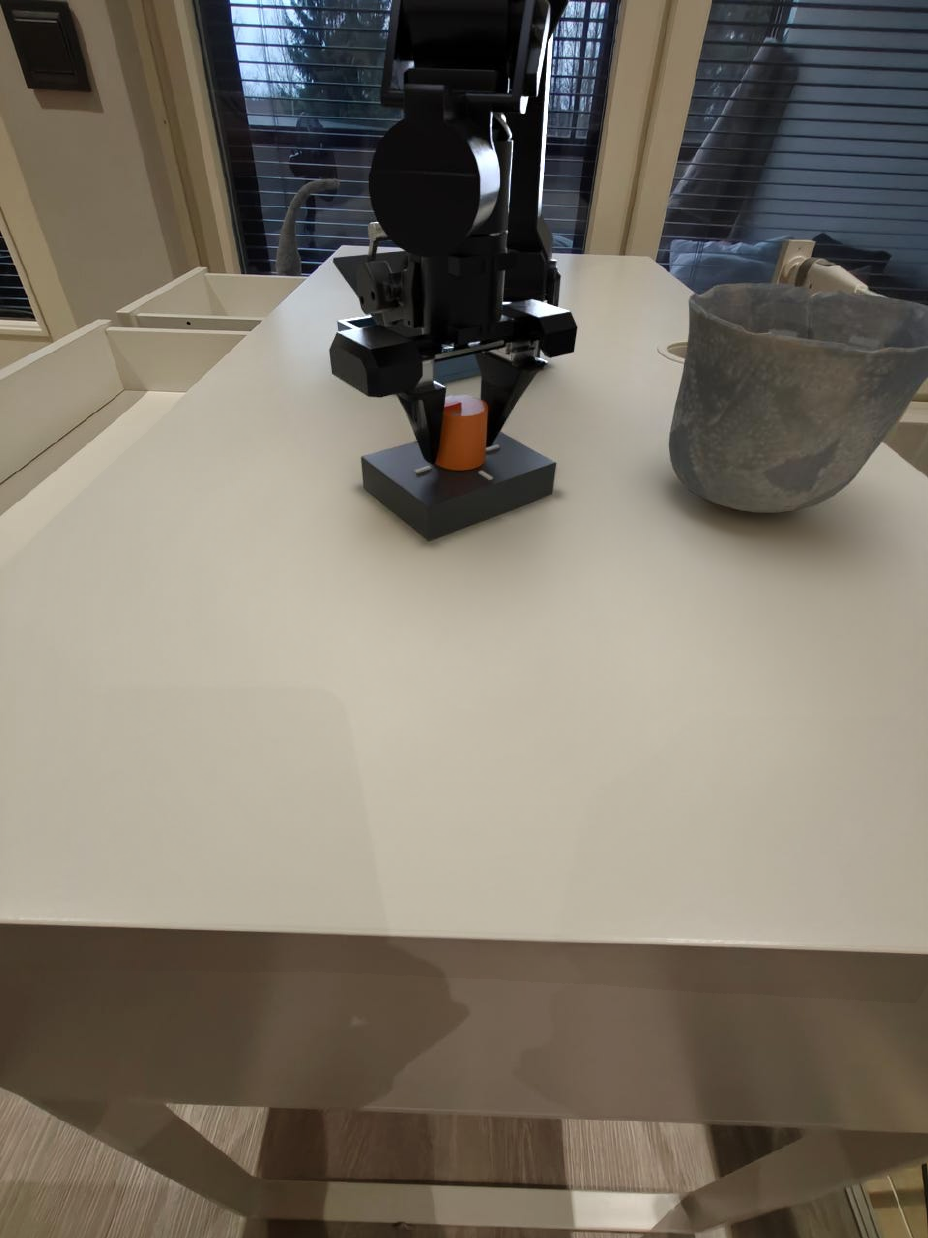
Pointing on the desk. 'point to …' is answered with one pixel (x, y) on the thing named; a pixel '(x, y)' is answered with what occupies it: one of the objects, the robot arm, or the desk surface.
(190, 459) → the desk surface
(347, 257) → the lid
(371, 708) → the desk surface
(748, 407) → the grey stone pot
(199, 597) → the desk surface
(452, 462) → the dial
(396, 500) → the control panel
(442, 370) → the blue open box
